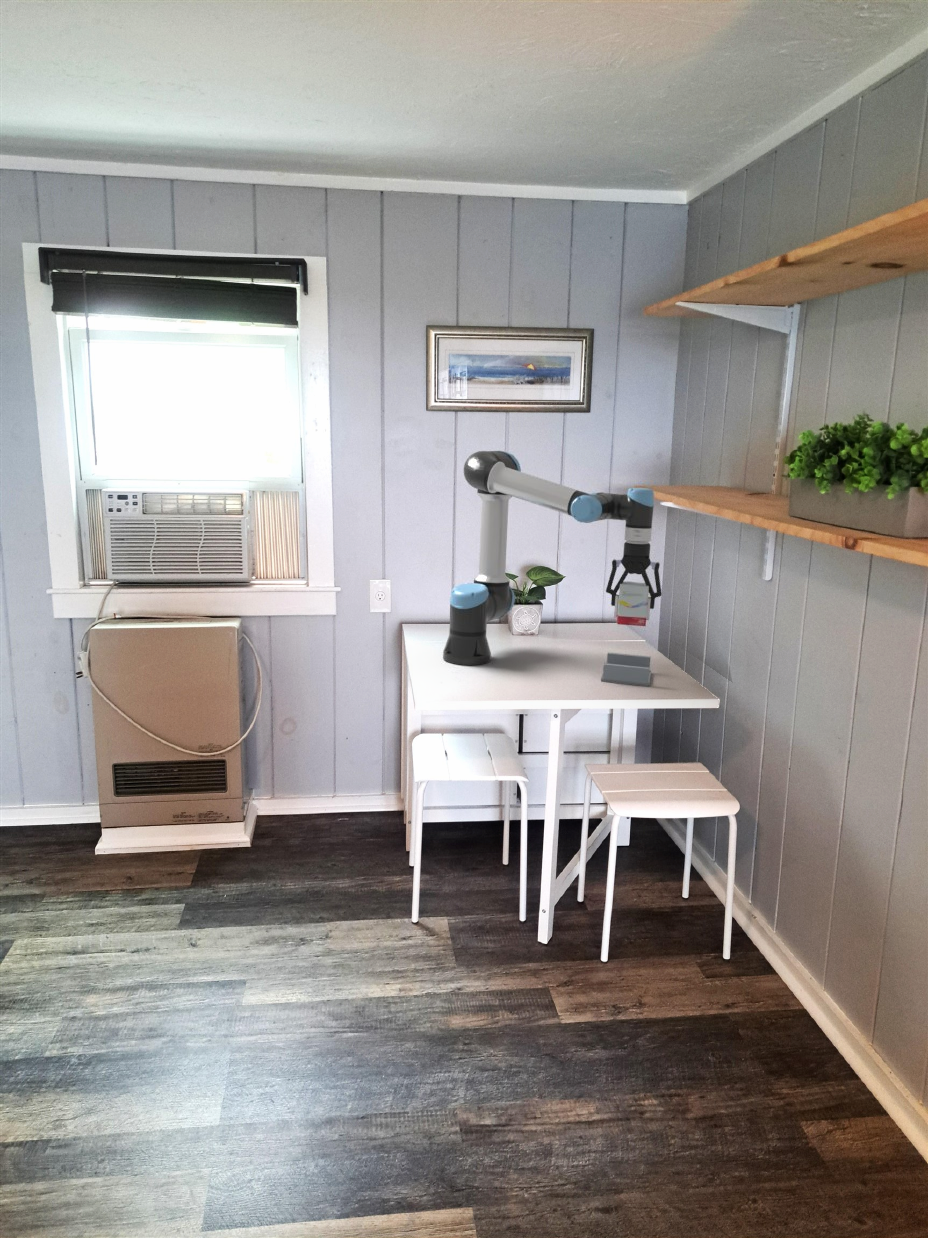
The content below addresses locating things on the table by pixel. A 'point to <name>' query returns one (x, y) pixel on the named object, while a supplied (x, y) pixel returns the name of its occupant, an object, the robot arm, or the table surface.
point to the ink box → (632, 604)
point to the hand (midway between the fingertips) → (631, 618)
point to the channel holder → (627, 669)
